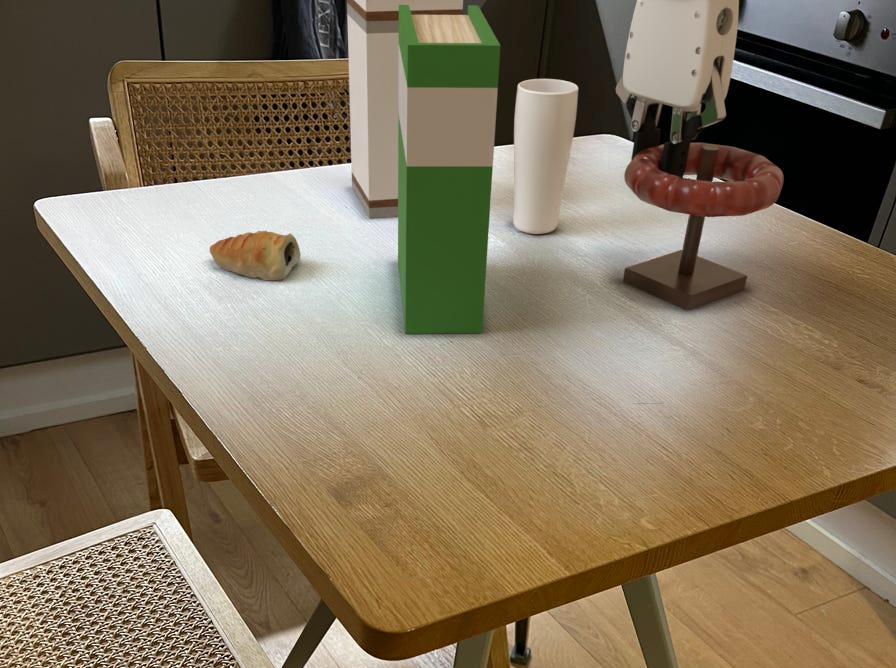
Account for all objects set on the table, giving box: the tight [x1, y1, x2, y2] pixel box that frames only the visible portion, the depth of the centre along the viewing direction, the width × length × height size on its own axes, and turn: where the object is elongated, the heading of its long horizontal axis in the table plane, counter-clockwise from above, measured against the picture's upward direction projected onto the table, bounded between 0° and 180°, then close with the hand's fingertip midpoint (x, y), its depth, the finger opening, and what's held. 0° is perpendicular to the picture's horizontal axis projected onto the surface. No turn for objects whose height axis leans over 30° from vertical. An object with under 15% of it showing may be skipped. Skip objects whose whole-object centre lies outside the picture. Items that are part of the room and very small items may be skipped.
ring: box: [624, 142, 785, 218], centre depth 95 cm, size 15×15×3 cm
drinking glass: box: [512, 78, 579, 235], centre depth 110 cm, size 7×7×15 cm
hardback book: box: [397, 4, 501, 335], centre depth 91 cm, size 18×7×24 cm, turn 3°
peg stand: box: [622, 146, 748, 311], centre depth 98 cm, size 9×9×14 cm
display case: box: [346, 0, 464, 219], centre depth 110 cm, size 11×11×35 cm
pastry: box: [209, 230, 301, 281], centre depth 103 cm, size 9×7×4 cm
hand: (655, 175), depth 100 cm, fingers closed on ring, 3 cm apart
